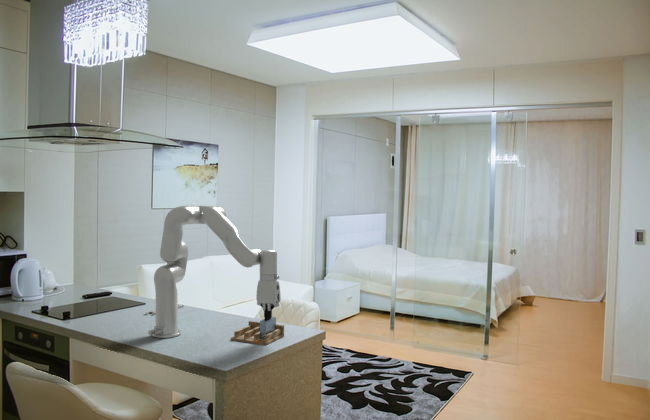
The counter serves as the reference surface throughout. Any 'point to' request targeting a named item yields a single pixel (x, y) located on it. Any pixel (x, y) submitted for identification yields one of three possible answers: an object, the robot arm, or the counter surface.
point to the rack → (257, 334)
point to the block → (267, 326)
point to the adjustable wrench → (155, 310)
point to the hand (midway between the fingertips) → (267, 319)
